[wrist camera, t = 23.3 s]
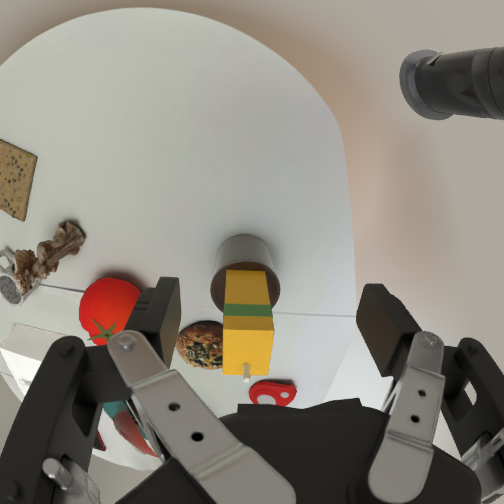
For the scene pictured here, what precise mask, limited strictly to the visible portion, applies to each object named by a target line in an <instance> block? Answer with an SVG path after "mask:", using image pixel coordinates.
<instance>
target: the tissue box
mask: <svg viewBox="0 0 504 504" xmlns="http://www.w3.org/2000/svg"><path fill="white" fill-rule="evenodd" d="M64 336H68V335H63V334H59V333H55V332H50V331H46V330H42V329H38V328H34V327H30V326H26V325H23V324H19V323H17V324H16V326H15V327H14V328H13V330H12V331H11V332H10V333H9V335H8V336H7V337H6V339H5V340H4V341H3V343H2V344H1V345H0V351H1V353H2V355H3V357H4V359H5V361H6V363H7V365H8V367H9V369H10V371H11V373H12V375H13V376H14V378H15V380H16V382H17V384H18V387H19V388H20V389H21V391H22V393H23V394H24V396H25V395H26V393H27V391H28V389H29V387H30V385H31V383H32V381H33V379H34V377H35V375H36V373H37V371H38V369H39V367H40V365H41V363H42V361H43V359H44V357H45V355H46V353H47V351H48V350H49V348H50V346H51V344H52V343H53V342H54V341H56V340H57V339H59V338H61V337H64Z"/></svg>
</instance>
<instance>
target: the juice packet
mask: <svg viewBox="0 0 504 504" xmlns="http://www.w3.org/2000/svg"><path fill="white" fill-rule="evenodd" d="M273 337H274V325H273V315H272V309H271V305H270V300H269V294H268V288H267V281H266V275H265V271H247V270H227V273H226V289H225V304H224V314H223V374H225V375H243V380H244V382H249V381H250V375H268V371H269V364H270V358H271V351H272V344H273Z"/></svg>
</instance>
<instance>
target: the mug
mask: <svg viewBox="0 0 504 504" xmlns="http://www.w3.org/2000/svg"><path fill="white" fill-rule="evenodd" d="M1 256H6V257H7V259H8V261H9V263H10V264H11V265H9V266H8V267H7V268H6V269H4V268H3V267H2V266H1V265H0V294H1V296H2V297H3V299H4V300H5V301H6V302H8V303H9V304H10V305H12V306H16V307H17V306H20V305H21V304H22V303H23V302H24V301H25V300H26V299H27V298H28V296H29V295H30V294H31V293H32V292H33V291H34V290H35V289H36V288H37V287H38V286H39V284H40V282H41V278H35V282H34V283H33V284H31V285H30V290H29V291H28V292H27V293H26V294H25V295H23V296H21V295H20V293H18V292H17V291H16V288H17V286H16V281H15V280H14V279H13V277H14V274H15V273H14V271H15V263H14V261H13V255H12V254H11V253H10V252H9V251H7V250H6V249H5V250H2V251H0V257H1Z"/></svg>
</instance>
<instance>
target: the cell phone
mask: <svg viewBox="0 0 504 504" xmlns="http://www.w3.org/2000/svg"><path fill="white" fill-rule="evenodd" d="M93 448H94V449H98V450H101V451H106V448H105V446H104V444H103V442H102V440H101V437H100V435H99V433H98V431H97V432H96V436H95V440H94V445H93Z"/></svg>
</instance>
